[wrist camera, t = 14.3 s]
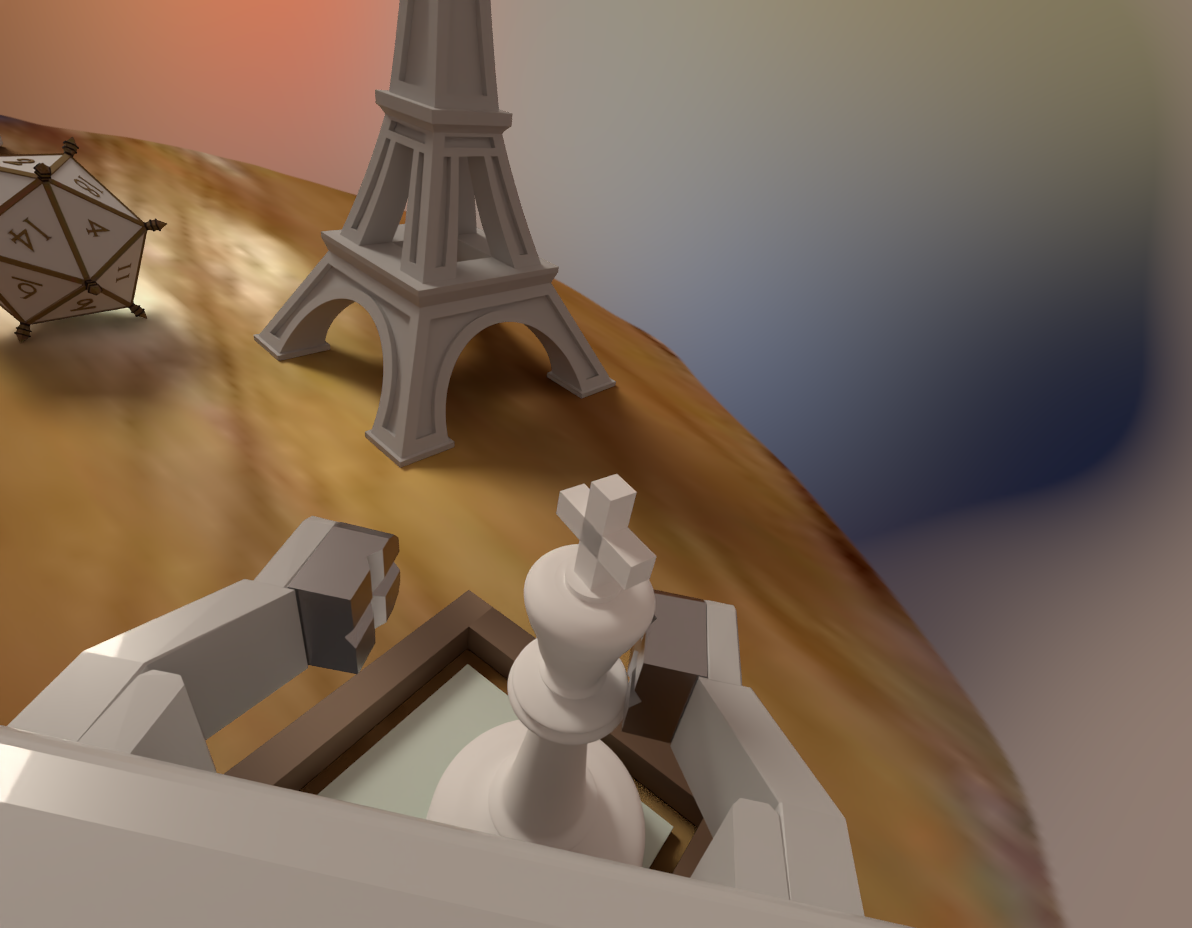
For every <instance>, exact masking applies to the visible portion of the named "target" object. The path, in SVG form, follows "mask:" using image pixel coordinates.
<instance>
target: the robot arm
mask: <svg viewBox="0 0 1192 928" xmlns="http://www.w3.org/2000/svg"><path fill="white" fill-rule="evenodd" d="M398 553H399V538H398V537H397V536H395V535H393V534H389V533H385V532H380V531H376V530H372V529H368V528H364V527H359V526H355V525H351V524H347V523H343V522H336V521H332V520H328V519H324V518H319V517H315V516H311V517H309V518H307V519H305V520H304V521H303V522H302V523H301V524H300V525H299V527H298V528H297V529H296V530H295V531H294V533H293V534H292V535H291V536H290V537H289V539H288V540H287V541H286V542H285V543H284V545H283V546H282V547H281V548H280V549H279V551H278V552H277V553H276V554H275V555H274V557H273V558H272V559H271V560H270V561H269V562H268V564H267V565H266V566H265V567H264V568H263V570H262V571H261V572H260V573H259V574H258V576H257V577H256V578H255V579H254V580H253V581H252V580H247V579H244V580H241V581H239V582H237V583H235V584H232V585H230V586H228V587H226V588H223V589H221V590H219V591H217V592H215V593H212V594H210V595H208V596H206V597H203V598H201V599H199V600H197V601H194V602H192V603H190V604H188V605H185V606H183V607H181V608H179V609H176V610H174V611H172V612H170V613H168V614H165V615H163V616H161V617H159V618H156V619H154V620H152V621H150V622H147V623H145V624H143V625H141V626H138V627H136V628H134V629H132V630H130V631H127V632H125V633H123V634H121V635H118V636H116V637H114V638H112V639H109V640H107V641H105V642H103V643H100V644H98V645H96V646H94V647H91V648H89V649H87V650H85V651H83V652H82V653H81V654H80V655H79V656H78V657H77V658H76V659H75V660H74V661H73V662H72V663H71V664H70V665H69V666H68V667H67V668H66V669H65V670H64V671H63V672H62V673H61V674H60V675H59V676H58V677H57V678H55V679H54V680H53V681H52V682H51V683H50V684H49V685H48V686H47V687H46V688H45V689H44V690H43V691H42V692H41V693H40V694H39V695H38V696H37V697H36V698H35V699H34V700H33V701H32V702H31V703H30V704H29V705H28V706H27V707H26V708H25V709H24V710H23V711H22V712H21V713H20V714H19V715H18V716H17V717H16V718H15V719H14V720H13V721H12V722H11V723H10V724H9V725H8V726H2V725H0V928H914V927H910V926H905V925H900V924H896V923H891V922H887V921H882V920H878V919H873V918H869V917H864V912H863V907H862V902H861V897H860V891H859V886H858V881H857V876H856V871H855V866H854V861H853V855H852V850H851V845H850V840H849V835H848V830H847V825H846V819H845V818H844V816H843V815H842V813H841V812H840V811H839V809H838V808H837V806H836V805H835V804H834V802H833V801H832V800H831V798H830V797H829V795H828V794H827V793H826V791H825V790H824V788H823V787H822V786H821V784H820V783H819V782H818V780H817V779H816V777H815V776H814V775H813V773H812V772H811V770H810V769H809V768H808V766H807V765H806V764H805V762H804V761H803V759H802V758H801V757H800V755H799V754H798V752H797V751H796V750H795V748H794V747H793V746H792V744H791V743H790V741H789V740H788V739H787V737H786V736H785V734H784V733H783V732H782V730H781V729H780V728H779V726H778V725H777V723H776V722H775V721H774V719H773V718H772V716H771V715H770V714H769V712H768V711H767V710H766V708H765V707H764V705H763V704H762V703H761V701H760V700H759V698H758V697H757V696H756V694H755V693H754V692H753V690H752V689H751V688H749V687H745V686H742V677H741V665H740V652H739V640H738V627H737V614H736V609H735V608H734V606H733V605H728V604H723V603H718V602H713V601H708V600H703V599H698V598H693V597H688V596H684V595H679V594H674V593H669V592H664V591H659V590H654V589H653V590H654V594H655V612H654V616H653V619H652V621H651V623H650V625H649V627H648V629H647V630H646V632H645V633H644V634H643V636H642V637H641V638H640V639H639V640H638V641H637V642H636V643H635V644H634V646H633V647H632V648H631V649H630V656H629V664H628V672H627V674H628V676H629V678H630V681H629V684H628V687H627V691H626V694H625V700H624V710H623V720H622V730H621V732H625V733H630V734H634V735H638V736H642V737H646V738H650V739H654V740H658V741H662V742H666V743H670V744H671V745H670V747H671V749H672V751H673V753H674V755H675V758H676V760H677V762H678V764H679V766H680V768H681V770H682V773H683V775H684V777H685V779H686V781H687V783H688V785H689V788H690V790H691V792H692V794H693V796H694V798H695V800H696V803H697V805H698V807H699V809H700V811H701V813H702V816H703V818H704V820H705V822H706V824H707V826H708V828H709V831H710V833H711V835H712V837H713V840H712V841H711V843H710V845H709V846H708V848H707V850H706V852H705V853H704V855H703V857H702V858H701V860H700V862H699V864H698V865H697V867H696V869H695V870H694V872H693V874H692V876H691V877H690V878H688V877H684V876H679V875H675V874H670V873H666V872H661V871H657V870H652V869H648V868H643V867H639V866H634V865H630V864H625V863H621V862H616V861H612V860H607V859H603V858H598V857H594V856H589V855H585V854H580V853H576V852H571V851H567V850H562V849H557V848H553V847H548V846H544V845H539V844H535V843H530V842H526V841H521V840H517V839H512V838H508V837H503V836H499V835H494V834H490V833H485V832H481V831H476V830H472V829H467V828H463V827H458V826H454V825H449V824H445V823H440V822H436V821H431V820H427V819H422V818H418V817H413V816H409V815H405V814H400V813H396V812H391V811H387V810H382V809H377V808H373V807H368V806H364V805H359V804H355V803H350V802H346V801H341V800H337V799H332V798H328V797H323V796H319V795H314V794H310V793H305V792H300V791H296V790H291V789H287V788H282V787H278V786H273V785H269V784H264V783H260V782H255V781H251V780H246V779H242V778H237V777H233V776H228V775H223V774H219V773H216V769H215V765H214V763H213V760H212V757H211V755H210V752H209V749H208V747H207V744H206V741H205V740H207V739H208V738H209V737H211V736H212V735H214V734H215V733H216V732H218V731H219V730H221V729H222V728H224V727H225V726H226V725H228V724H229V723H231V722H232V721H233V720H235V719H236V718H238V717H239V716H241V715H242V714H243V713H245V712H246V711H248V710H249V709H250V708H252V707H253V706H255V705H256V704H258V703H259V702H260V701H262V700H263V699H265V698H266V697H267V696H269V695H270V694H272V693H273V692H275V691H276V690H277V689H279V688H280V687H282V686H283V685H284V684H286V683H287V682H289V681H290V680H292V679H293V678H294V677H296V676H297V675H299V674H300V673H301V672H303V671H304V670H306V669H307V668H308V665H312V666H317V667H322V668H328V669H333V670H338V671H344V672H349V673H354V674H359V672H360V670H361V668H362V666H363V664H364V663H365V661H366V659H367V657H368V655H369V653H370V652H371V650H372V648H373V646H374V644H375V628H377V627H379V626H380V625H382V624H384V623H386V622H387V620H388V618H389V616H390V614H391V612H392V610H393V608H394V605H395V602H396V599H397V596H398V593H399V586H400V569H399V568H398V567H397V566H396V564H395V563H394V560H395V559H396V557H397V555H398Z"/></svg>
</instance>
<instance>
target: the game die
mask: <svg viewBox="0 0 1192 928" xmlns="http://www.w3.org/2000/svg"><path fill="white" fill-rule="evenodd" d="M63 143H64V146H63V147H62V148H63V149H64V153H61V154H16V155H0V306H1V307H2V308H4V309H5V310H6V311H7V312H8V313H10V314H11V315H12V316H13V317H14V318H16V319H17V320H18V321H19V322H20V325H19V326H18V327H16V329H17V331H16V332H14V333H15V334H16V335H17V337H18V339H19V341H20V343H22V342H23V341H24V340H26V339H27V338H28V337H31V336H29V335H30V332H32V331H30V325H32V324H37V323H43V322H49V321H54V320H60V319H65V318H71V317H77V316H82V315H88V314H94V313H99V312H105V311H111V310H116V309H122V308H129V309H130V310H131V313H134V314H135V316H136V317H138V316H139V317H143V318H147V316H146V314H145V311H144V310H145V309H142V308H141V307H140V305H139V306H138V305H135V304H134V303H133V300H134V295H135V290H136V285H137V280H138V275H139V270H140V265H141V259H142V254H143V249H144V244H145V239H146V234H147V230H153V231H155V230H159V231H161V229H162V228H163V227H164V226H165V225H166V224H167V223H164V222H161V221H159V220H157V219H155V220H149V221H148V222H146V223H145V222H143V221H142V220H141V219H140V218H139V217H137V216H136V215H135V214H134V213H133V212H132V211H131V210H130V209H129V208H128V207H126V206H125V205H124V204H123V203H122V202H121V201H120V200H119V199H118V198H117V197H116V196H114V195H113V194H112V193H111V192H110V191H109V190H108V189H107V188H106V187H105V186H103V185H102V184H101V183H100V182H99V181H98V180H97V179H96V178H95V177H94V176H93V175H91V174H90V173H89V172H88V171H87V170H86V169H85V168H84V167H83V166H82V165H80V164H79V163H78V162H77V161H76V160H75V159H74V158H73V155H74V154H75V153H77V152H76V150H77V149H79V147H77V145H76V143H75V140H74V138H73V137H71V138H70V139H69V140H67V141H64V142H63Z"/></svg>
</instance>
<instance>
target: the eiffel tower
mask: <svg viewBox="0 0 1192 928" xmlns="http://www.w3.org/2000/svg"><path fill="white" fill-rule="evenodd" d="M497 96H498V95H497V84H496V73H495V60H494V47H493V33H492V19H491V2H490V0H400V3H399V13H398V22H397V31H396V40H395V50H394V58H393V66H392V74H391V83H390V90H389V91H388V90H375V97H376V104H378V105H379V106H380V107H381V109H382V110H383V111H384V112H385V117H384V120H383V123H382V127H381V130H380V133H379V136H378V139H377V142H376V145H375V149H374V151H373V154H372V157H371V160H370V163H369V166H368V169H367V171H366V174H365V177H364V179H363V182H362V184H361V187H360V189H359V192H358V194H357V197H356V199H355V202H354V204H353V206H352V209H351V211H350V213H349V216H348V218H347V220H346V222H345V224H344V227H343V229H342V230H333V231H322V232H321V237H322V239H323V241H324V243H325V244H326V246H327V248H328V250H329V251H328V252H327V253H326V255H325V256H324V257H323V258H322V259H321V261H320V262H319V263H318V264H317V265H316V267H315V268H314V269H313V270H312V271H311V273H310V274H309V275H308V276H307V278H306V279H305V280H304V281H303V282H302V284H301V285H300V286H299V287H298V288H297V290H296V291H295V292H294V293H293V294H292V296H291V297H290V298H289V299H288V300H287V302H286V303H285V304H284V305H283V306H282V308H281V309H280V310H279V311H278V313H277V314H276V315H275V316H274V317H273V319H272V320H271V321H270V322H269V323H268V325H267V326H266V327H265V328H264V329H263V331H262V332H261V333H260V334H256V335H254V340H255V341H256V342H257V343H259V344H260V345H261V346H262V347H263V348H264V349H265V350H267V351H268V352H269V353H270V354H271V355H272V356H273V357H275V358H276V359H277V360H278V361H280V360H285V359H289V358H294V357H298V356H303V355H308V354H312V353H317V352H321V351H326V350H330V344H328V343H327V342H326V341H325V338H326V334H327V331H328V329H329V327H330V325H331V323H332V322H333V320H334V319H335V318H336V316H337V315H338V314H339V313H340V312H341V311H342V310H344V309H345V308H346V307H348V306H349V305H351V304H352V303H354V302H357V303H359V304H360V305H362V306H363V307H364V308H365V309H366V310H367V311H368V312H369V314H370V315H371V317H372V318H373V320H374V322H375V324H376V327H377V329H378V332H379V336H380V339H381V344H382V351H383V385H382V392H381V398H380V403H379V408H378V412H377V415H376V419H375V422H374V425H373V428H372V430H369V431H366V432H365V437H366V438H367V439H368V440H369V441H370V442H371V443H373V444H374V445H375V446H376V447H377V448H378V449H379V450H381V451H382V452H383V453H384V454H385V455H386V456H387V457H389V458H390V459H391V460H392V461H393V462H394V463H395V464H397V465H398V466H399V467H400V468H401V467H403V466H406V465H409V464H411V463H414V462H416V461H419V460H422V459H424V458H427V457H429V456H432V455H435V454H437V453H440V452H443V451H445V450H448V449H450V448H453V447H454V441H453V440H451V439H450V438H449V437H448V435H447V427H446V397H447V390H448V384H449V380H450V376H451V373H452V370H453V368H454V365H455V363H456V361H457V359H458V357H459V355H460V353H461V351H462V350H463V348H464V347H465V346H466V344H467V343H468V342H469V341H470V340H471V339H472V338H473V337H474V336H475V335H476V334H477V333H478V332H480V331H481V330H483V329H485V328H486V327H488V326H491V325H493V324H497V323H501V322H519V323H523V324H525V325H526V326H527V327H528V328H529V329H530V330H531V331H532V332H533V333H534V334H535V335H536V337H537V338H538V339H539V340H540V342H541V343H542V345H543V346H544V348H545V350H546V352H547V354H548V356H549V359H550V363H551V368H552V371H551V372H548V373H547V377H548V378H549V379H551V380H552V381H554V382H556V383H557V384H559V385H561V386H562V387H564V388H565V389H567V390H569V391H570V392H572V393H573V394H575V395H577V396H578V397H580V398H584V397H587V396H589V395H592V394H595V393H597V392H600V391H602V390H605V389H608V388H610V387H613V386H615V384H616V381H614V380H612V379H611V378H610V377H609V376H608V374H607V373H606V371H605V369H604V368H603V366H602V364H601V363H600V361H599V360H598V358H597V356H596V355H595V353H594V352H593V350H592V348H591V347H590V345H589V343H588V342H587V340H586V339H585V337H584V335H583V334H582V332H581V331H580V329H579V327H578V326H577V324H576V323H575V321H574V319H573V318H572V316H571V314H570V313H569V311H568V310H567V308H566V306H565V305H564V303H563V302H562V300H561V298H560V297H559V295H558V293H557V292H556V290H555V289H554V287H553V285H552V284H551V282H552V280H553V279H554V277H555V276H556V274H557V273H558V268H559V267H558V266H556V265H554V264H551V263H550V262H547V261H545V260H543V259H541V258H539V257H538V254H537V252H536V249H535V246H534V243H533V240H532V237H531V234H530V231H529V229H528V225H527V222H526V219H525V216H524V213H523V210H522V207H521V203H520V200H519V196H518V193H517V190H516V186H515V183H514V179H513V175H512V172H511V168H510V165H509V161H508V157H507V153H506V149H505V144H504V140H503V136H502V133H503V132H504V131H505V130H506V129H508V128H509V127H511V125H512V113H509V112H505V111H502V110H499V107H498V97H497ZM474 195H475V196H474ZM407 199H408V205H407V213H406V222H405V224H401V225H399V222H400V220H401V217H402V214H403V211H404V209H405V205H406V202H407ZM475 199H476V203H477V208H478V211H479V215H480V219H481V223H482V226H483V230H484V231H483V230H481V229H479V228H477V227H476V213H475V212H476V211H475Z"/></svg>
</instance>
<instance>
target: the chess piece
mask: <svg viewBox="0 0 1192 928" xmlns="http://www.w3.org/2000/svg"><path fill="white" fill-rule="evenodd" d="M636 493H637V492H636V491H635V490H634V489H633V488H632V487H631V486H630V485H628V484H627V483H626V482H625V481H624V480H623V479H622V478H621V477H620V476H619V475H618V474H615V475H611V476H608V477H605V478H602V479H599V480H595V481H592V482H591V486H590V489H589V488H588V487H587V486H586V485H585V484H581V485H578V486H575V487H572V488H569V489H565V490H562V491H560V494H559V500H558V506H557V512H556V514H557V515H558V516H559V517H560V519H561V520H562V521H563V522H564V523H565V524H566V525H567V526H568V527H569V529H570V530H571V531H572V532H573V533H574V534H575V535H576V536H577V538H578V539H579V540H580V542H579V544H574V545H567V546H563V547H560V548H557V549H554V550H552V551H550V552H548V553H547V554H545V555H543V556H542V557H541V558H540V559H539V560H537V561H536V563H535V564H534V565H533V566H532V568H531V569H530V571H529V573H528V575H527V577H526V581H525V585H524V601H525V607H526V611H527V614H528V617H529V621H530V624H531V626H532V628H533V630H534V632H535V634H536V637H537V638H536V639H535V640H533V641H532V642H530V643H529V644H528V645H527V646H526V647H525V648H524V649H523V650H522V651H521V653H520V654H519V656H518V657H517V658H516V660H515V661H514V663H513V665H512V667H511V670H510V673H509V677H508V685H507V688H508V696H509V701H510V704H511V706H512V709H513V711H514V713H515V714H516V716H517V717H518V719H519V720H515V721H511V722H507V723H504V724H501V725H499V726H496V727H494V728H492V729H490V730H488V731H486V732H484V733H483V734H481V735H479V736H478V737H477V738H475V739H474V740H472V741H471V742H470V743H469V744H468V745H466V746H465V747H464V748H463V749H462V750H461V751H460V752H459V753H458V754H457V755H456V757H455V758H454V759H453V760H452V762H451V763H450V764H449V766H448V767H447V769H446V770H445V772H444V773H443V775H442V777H441V779H440V781H439V783H438V785H437V787H436V790H435V792H434V795H433V798H432V801H431V804H430V807H429V810H428V814H427V817H426V819H427V820H431V821H436V822H440V823H445V824H449V825H454V826H458V827H463V828H467V829H472V830H476V831H481V832H485V833H490V834H494V835H499V836H503V837H508V838H512V839H517V840H521V841H526V842H530V843H535V844H539V845H544V846H548V847H553V848H557V849H562V850H567V851H571V852H576V853H580V854H585V855H589V856H594V857H598V858H603V859H607V860H612V861H616V862H621V863H625V864H630V865H634V866H639V867H642V864H643V856H644V849H645V820H644V813H643V808H642V804H641V800H640V797H639V794H638V791H637V788H636V786H635V784H634V781H633V779H632V777H631V775H630V774H629V772H628V770H627V769H626V767H625V766H624V764H623V763H622V761H621V760H620V759H619V758H618V756H617V755H616V754H615V753H614V752H613V751H612V750H611V749H610V748H609V747H608V746H607V745H606V744H605V743H604V742H602V741H601V740H600V739H602V738H603V737H605V736H607V735H608V734H610V733H611V732H612V731H613V730H614V729H615V728H616V727H617V726H618V725H619V724H620V722H621V721H622V719H623V710H624V700H625V694H626V691H627V687H628V684H629V683H628V677H627V673H626V670H625V667H624V665H623V663H622V661H621V660H620V658H619V657H620V656H621V655H622V654H624V653H625V652H627V651H628V650H629V649H630V648H632V647H633V646H634V644H635V643H636V642H637V641H638V640H639V639H640V638H641V637H642V636H643V634H644V633H645V632H646V630H647V629H648V627H649V625H650V623H651V621H652V619H653V616H654V612H655V594H654V590H653V587H652V585H651V583H650V581H649V579H650V576H651V573H652V569H653V566H654V563H655V559H656V555H655V554H654V553H653V552H652V551H651V550H650V549H649V548H648V547H647V546H646V545H645V544H644V543H643V542H642V541H641V540H640V539H639V538H638V537H637V536H636V535H635V534H634V533H633V532H632V531H631V530H630V529H629V528H628V524H629V520H630V516H631V512H632V508H633V504H634V500H635V497H636Z"/></svg>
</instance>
